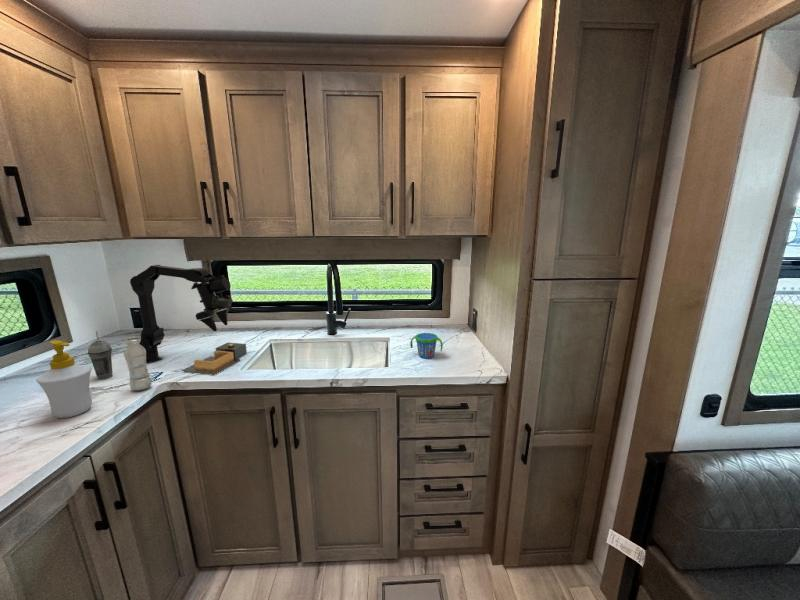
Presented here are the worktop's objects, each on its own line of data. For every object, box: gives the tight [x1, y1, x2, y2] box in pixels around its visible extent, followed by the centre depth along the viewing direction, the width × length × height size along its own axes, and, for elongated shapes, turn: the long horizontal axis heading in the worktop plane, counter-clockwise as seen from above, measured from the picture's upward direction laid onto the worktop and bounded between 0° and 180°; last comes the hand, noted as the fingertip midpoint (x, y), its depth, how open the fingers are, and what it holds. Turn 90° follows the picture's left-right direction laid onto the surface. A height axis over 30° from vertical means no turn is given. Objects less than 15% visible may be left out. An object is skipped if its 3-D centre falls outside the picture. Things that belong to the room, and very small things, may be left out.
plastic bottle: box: [123, 337, 152, 392], centre depth 122 cm, size 6×7×20 cm
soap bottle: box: [35, 339, 93, 419], centre depth 106 cm, size 13×13×25 cm
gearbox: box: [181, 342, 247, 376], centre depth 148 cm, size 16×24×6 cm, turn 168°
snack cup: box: [409, 332, 444, 359], centre depth 157 cm, size 16×10×10 cm
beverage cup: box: [87, 330, 113, 381], centre depth 132 cm, size 7×7×20 cm
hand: (221, 328), depth 149 cm, fingers open, 9 cm apart
